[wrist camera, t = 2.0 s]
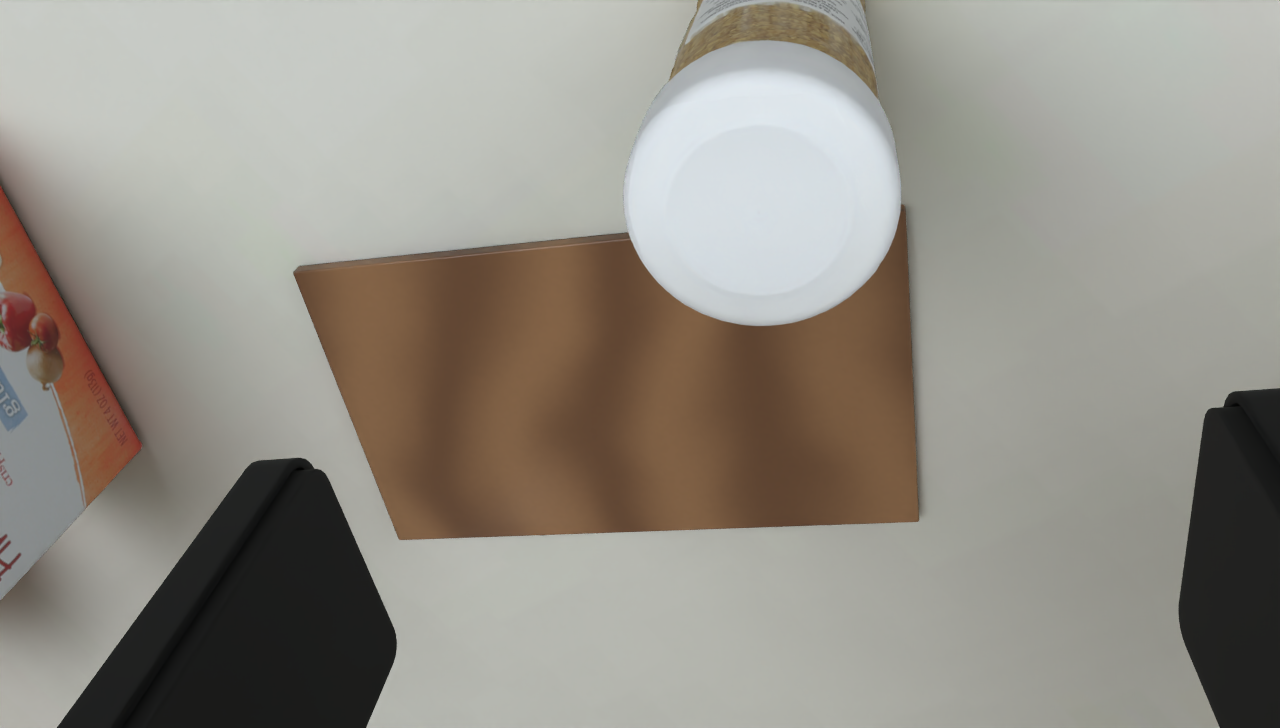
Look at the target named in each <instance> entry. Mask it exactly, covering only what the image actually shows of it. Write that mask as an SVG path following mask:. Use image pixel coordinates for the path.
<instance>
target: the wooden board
mask: <svg viewBox="0 0 1280 728" xmlns="http://www.w3.org/2000/svg"><path fill="white" fill-rule="evenodd" d="M293 274H294V276H295V279H296V281H297V284H298V286H299V289H300V292H301V294H302V297H303V299H304V302H305V304H306V307H307V309H308V312H309V314H310V317H311V319H312V322H313V324H314V327H315V329H316V332H317V334H318V337H319V339H320V342H321V344H322V347H323V349H324V352H325V354H326V357H327V359H328V362H329V365H330V367H331V370H332V372H333V375H334V377H335V380H336V382H337V385H338V387H339V390H340V392H341V395H342V397H343V400H344V402H345V405H346V407H347V410H348V412H349V415H350V417H351V420H352V422H353V425H354V427H355V430H356V432H357V435H358V438H359V440H360V443H361V445H362V448H363V450H364V453H365V455H366V458H367V460H368V463H369V465H370V468H371V470H372V473H373V475H374V478H375V480H376V483H377V485H378V488H379V490H380V493H381V495H382V498H383V500H384V503H385V506H386V508H387V511H388V513H389V516H390V518H391V521H392V523H393V526H394V528H395V531H396V533H397V536H398V538H399V540H412V539H441V538H469V537H498V536H526V535H555V534H583V533H612V532H641V531H669V530H698V529H726V528H755V527H783V526H812V525H840V524H869V523H898V522H918V521H919V507H918V483H917V460H916V436H915V413H914V389H913V366H912V342H911V319H910V295H909V272H908V248H907V225H906V209H905V205H901V211H900V216H899V221H898V225H897V230H896V233H895V236H894V239H893V241H892V244H891V246H890V248H889V251H888V252H887V254H886V256H885V258H884V259H883V261H882V262H881V263H880V265H879V267H878V269H877V270H876V272H875V273H874V274H873V275H872V276H871V277H870V279H869V280H868V281H867V282H866V283H865V284H864V285H863V286H862V287H861V288H859V289H858V290H857V291H856V292H855V293H854V294H853V295H851V296H850V297H849V298H847V299H846V300H844V301H843V302H842V303H840V304H839V305H837V306H835V307H833V308H831V309H830V310H828V311H826V312H823V313H821V314H818V315H816V316H814V317H811V318H808V319H805V320H801V321H798V322H794V323H789V324H782V325H772V326H750V325H740V324H735V323H730V322H725V321H721V320H718V319H716V318H713V317H710V316H707V315H704V314H702V313H700V312H698V311H695V310H694V309H692V308H690V307H688V306H686V305H684V304H683V303H682V302H680V301H679V300H677V299H676V298H675V297H673V296H672V295H671V294H670V293H669V292H667V291H666V290H665V289H664V288H663V287H662V286H661V285H660V284H659V283H658V282H657V281H656V280H655V279H654V277H653V276H652V275H651V274H650V272H649V271H648V270H647V268H646V267H645V266H644V264H643V262H642V261H641V259H640V258H639V256H638V254H637V252H636V250H635V248H634V245H633V243H632V241H631V239H630V236H629V233H620V234H610V235H600V236H590V237H581V238H571V239H561V240H551V241H541V242H532V243H522V244H512V245H502V246H493V247H483V248H473V249H463V250H453V251H444V252H434V253H424V254H414V255H404V256H395V257H385V258H375V259H365V260H356V261H346V262H336V263H326V264H316V265H307V266H299V267H298V268H297V269H296V270H295V271H294V272H293Z"/></svg>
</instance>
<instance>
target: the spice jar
mask: <svg viewBox="0 0 1280 728" xmlns="http://www.w3.org/2000/svg"><path fill="white" fill-rule="evenodd" d="M623 203H624V213H625V219H626V225H627V229H628V233H629V236H630V239H631V241H632V243H633V245H634V248H635V250H636V252H637V254H638V256H639V258H640V259H641V261H642V262H643V264H644V266H645V267H646V268H647V270H648V271H649V272H650V274H651V275H652V276H653V277H654V279H655V280H656V281H657V282H658V283H659V284H660V285H661V286H662V287H663V288H664V289H665V290H666V291H667V292H669V293H670V294H671V295H672V296H673V297H675V298H676V299H677V300H679V301H680V302H682V303H683V304H684V305H686V306H688V307H690V308H692V309H694V310H695V311H698V312H700V313H702V314H704V315H707V316H710V317H713V318H716V319H718V320H721V321H725V322H730V323H735V324H740V325H750V326H772V325H782V324H789V323H794V322H798V321H801V320H805V319H808V318H811V317H814V316H816V315H818V314H821V313H823V312H826V311H828V310H830V309H831V308H833V307H835V306H837V305H839V304H840V303H842V302H843V301H844V300H846V299H847V298H849V297H850V296H851V295H853V294H854V293H855V292H856V291H857V290H858V289H859V288H861V287H862V286H863V285H864V284H865V283H866V282H867V281H868V280H869V279H870V277H871V276H872V275H873V274H874V273H875V272H876V270H877V269H878V267H879V265H880V263H881V262H882V261H883V259H884V258H885V256H886V254H887V252H888V251H889V248H890V246H891V244H892V241H893V239H894V236H895V233H896V230H897V225H898V221H899V216H900V211H901V179H900V171H899V164H898V158H897V152H896V146H895V140H894V136H893V132H892V129H891V126H890V123H889V121H888V118H887V116H886V114H885V112H884V110H883V108H882V106H881V104H880V102H879V94H878V86H877V79H876V73H875V67H874V61H873V55H872V49H871V42H870V37H869V32H868V27H867V22H866V16H865V0H698V3H697V12H696V14H695V16H694V17H693V19H692V20H691V22H690V24H689V26H688V28H687V30H686V32H685V35H684V37H683V39H682V42H681V45H680V47H679V49H678V52H677V55H676V59H675V65H674V67H673V69H672V72H671V76H670V79H669V81H668V83H667V84H665V85H664V87H663V88H662V89H661V91H660V92H659V93H658V95H657V96H656V97H655V99H654V100H653V102H652V104H651V105H650V107H649V109H648V110H647V112H646V115H645V117H644V119H643V121H642V123H641V126H640V128H639V131H638V133H637V136H636V139H635V142H634V145H633V148H632V151H631V154H630V157H629V161H628V165H627V168H626V172H625V179H624V187H623Z"/></svg>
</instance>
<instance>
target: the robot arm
mask: <svg viewBox="0 0 1280 728" xmlns="http://www.w3.org/2000/svg"><path fill="white" fill-rule="evenodd" d="M1179 622H1180V629H1181V633H1182V637H1183V640H1184V643H1185V646H1186V648H1187V650H1188V653H1189V655H1190V657H1191V660H1192V662H1193V665H1194V667H1195V669H1196V672H1197V674H1198V677H1199V679H1200V681H1201V684H1202V686H1203V689H1204V691H1205V693H1206V696H1207V698H1208V700H1209V703H1210V705H1211V708H1212V710H1213V712H1214V715H1215V717H1216V720H1217V722H1218V724H1219V727H1220V728H1280V388H1277V389H1263V390H1249V391H1235V392H1232V393H1230V394H1229V395H1228V397H1227V398H1226V400H1225V404H1224V407H1221V408H1211V409H1209V410H1208V411H1207V413H1206V414H1205V418H1204V423H1203V431H1202V438H1201V445H1200V453H1199V460H1198V467H1197V475H1196V482H1195V489H1194V497H1193V504H1192V511H1191V519H1190V526H1189V533H1188V541H1187V548H1186V555H1185V562H1184V570H1183V577H1182V584H1181V592H1180V599H1179ZM396 648H397V640H396V633H395V630H394V627H393V625H392V623H391V620H390V618H389V616H388V614H387V611H386V609H385V607H384V604H383V602H382V600H381V598H380V595H379V593H378V591H377V588H376V586H375V584H374V582H373V579H372V577H371V575H370V573H369V570H368V568H367V566H366V563H365V561H364V559H363V557H362V554H361V552H360V550H359V548H358V545H357V543H356V541H355V538H354V536H353V534H352V532H351V529H350V527H349V525H348V522H347V520H346V518H345V516H344V513H343V511H342V509H341V507H340V504H339V502H338V500H337V497H336V495H335V493H334V491H333V488H332V486H331V484H330V481H329V479H328V478H327V476H326V474H325V473H324V472H323V471H322V470H318V469H314V468H313V466H312V464H311V463H310V462H308V461H307V460H306V459H303V458H290V459H276V460H261V461H256V462H253V463H251V464H250V465H249V466H248V467H247V468H246V469H245V471H244V472H243V473H242V475H241V476H240V478H239V479H238V480H237V482H236V483H235V484H234V486H233V487H232V489H231V490H230V491H229V493H228V494H227V495H226V497H225V498H224V500H223V501H222V502H221V504H220V505H219V506H218V508H217V509H216V510H215V512H214V513H213V515H212V516H211V517H210V519H209V520H208V521H207V523H206V524H205V526H204V527H203V528H202V530H201V531H200V532H199V534H198V535H197V537H196V538H195V539H194V541H193V542H192V543H191V545H190V546H189V547H188V549H187V550H186V552H185V553H184V554H183V556H182V557H181V558H180V560H179V561H178V563H177V564H176V565H175V567H174V568H173V569H172V571H171V572H170V574H169V575H168V576H167V578H166V579H165V580H164V582H163V583H162V584H161V586H160V587H159V589H158V590H157V591H156V593H155V594H154V595H153V597H152V598H151V600H150V601H149V602H148V604H147V605H146V606H145V608H144V609H143V611H142V612H141V613H140V615H139V616H138V617H137V619H136V620H135V621H134V623H133V624H132V626H131V627H130V628H129V630H128V631H127V632H126V634H125V635H124V637H123V638H122V639H121V641H120V642H119V643H118V645H117V646H116V648H115V649H114V650H113V652H112V653H111V654H110V656H109V657H108V658H107V660H106V661H105V663H104V664H103V665H102V667H101V668H100V669H99V671H98V672H97V674H96V675H95V676H94V678H93V679H92V680H91V682H90V683H89V685H88V686H87V687H86V689H85V690H84V691H83V693H82V694H81V695H80V697H79V698H78V700H77V701H76V702H75V704H74V705H73V706H72V708H71V709H70V711H69V712H68V713H67V715H66V716H65V717H64V719H63V720H62V722H61V723H60V724H59V726H58V727H57V728H366V726H367V724H368V722H369V719H370V717H371V715H372V712H373V710H374V708H375V705H376V703H377V701H378V698H379V696H380V693H381V691H382V689H383V686H384V684H385V682H386V679H387V677H388V675H389V672H390V670H391V668H392V665H393V663H394V659H395V656H396Z"/></svg>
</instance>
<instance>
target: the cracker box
mask: <svg viewBox="0 0 1280 728" xmlns="http://www.w3.org/2000/svg"><path fill="white" fill-rule="evenodd" d="M141 448H142V443H141V442H140V441H139V439H138V438H137V436H136V434H135V432H134V431H133V429H132V427H131V425H130V423H129V421H128V420H127V418H126V416H125V414H124V412H123V410H122V409H121V407H120V405H119V403H118V401H117V399H116V398H115V396H114V394H113V392H112V390H111V388H110V387H109V385H108V383H107V381H106V379H105V378H104V376H103V374H102V372H101V370H100V368H99V367H98V365H97V363H96V361H95V359H94V357H93V355H92V353H91V352H90V350H89V348H88V346H87V344H86V342H85V341H84V339H83V337H82V335H81V333H80V331H79V329H78V327H77V326H76V324H75V322H74V320H73V318H72V316H71V315H70V313H69V311H68V310H67V308H66V306H65V304H64V302H63V300H62V298H61V296H60V295H59V293H58V291H57V289H56V287H55V286H54V284H53V282H52V280H51V278H50V276H49V274H48V272H47V270H46V268H45V267H44V265H43V263H42V261H41V260H40V258H39V256H38V254H37V252H36V250H35V249H34V247H33V245H32V243H31V241H30V239H29V237H28V236H27V234H26V232H25V230H24V228H23V226H22V224H21V222H20V221H19V219H18V217H17V215H16V213H15V212H14V210H13V208H12V206H11V205H10V203H9V201H8V199H7V197H6V195H5V193H4V191H3V189H2V188H1V186H0V600H1V599H2V598H3V597H4V596H5V595H6V594H7V593H8V592H9V591H10V590H11V589H12V588H13V587H14V586H15V584H16V583H17V582H18V581H19V580H20V579H21V578H22V577H23V576H24V575H25V574H26V573H27V572H28V571H29V569H30V568H31V567H32V566H33V565H34V564H35V563H36V562H37V561H38V560H39V559H40V558H41V557H42V556H43V555H44V553H45V552H46V551H47V550H48V549H49V548H50V547H51V546H52V545H53V544H54V543H55V542H56V541H57V540H58V538H59V537H60V536H61V535H62V534H63V533H64V532H65V531H66V530H67V529H68V527H69V526H70V525H71V524H72V523H73V522H74V521H75V520H76V519H77V518H78V517H79V516H80V515H81V514H82V512H83V511H84V510H85V509H86V508H87V506H88V505H89V504H90V503H91V502H92V501H93V500H94V499H95V498H96V497H97V496H98V495H99V494H100V493H101V492H102V491H103V490H104V489H105V487H106V486H107V485H108V484H109V483H110V482H111V481H112V480H113V479H114V477H115V476H116V475H117V474H118V473H119V472H120V471H121V470H122V469H123V468H124V467H125V466H126V464H127V463H128V462H129V461H130V460H131V459H132V458H133V457H134V456H135V455H136V454H137V453H138V452H139V451H140V450H141Z"/></svg>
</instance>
